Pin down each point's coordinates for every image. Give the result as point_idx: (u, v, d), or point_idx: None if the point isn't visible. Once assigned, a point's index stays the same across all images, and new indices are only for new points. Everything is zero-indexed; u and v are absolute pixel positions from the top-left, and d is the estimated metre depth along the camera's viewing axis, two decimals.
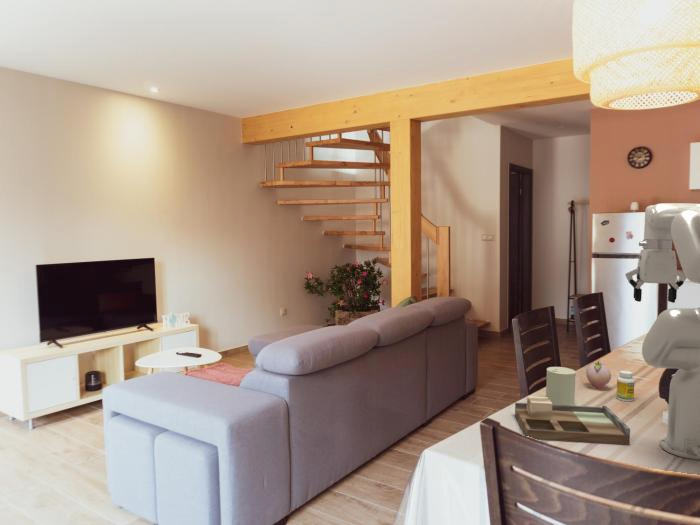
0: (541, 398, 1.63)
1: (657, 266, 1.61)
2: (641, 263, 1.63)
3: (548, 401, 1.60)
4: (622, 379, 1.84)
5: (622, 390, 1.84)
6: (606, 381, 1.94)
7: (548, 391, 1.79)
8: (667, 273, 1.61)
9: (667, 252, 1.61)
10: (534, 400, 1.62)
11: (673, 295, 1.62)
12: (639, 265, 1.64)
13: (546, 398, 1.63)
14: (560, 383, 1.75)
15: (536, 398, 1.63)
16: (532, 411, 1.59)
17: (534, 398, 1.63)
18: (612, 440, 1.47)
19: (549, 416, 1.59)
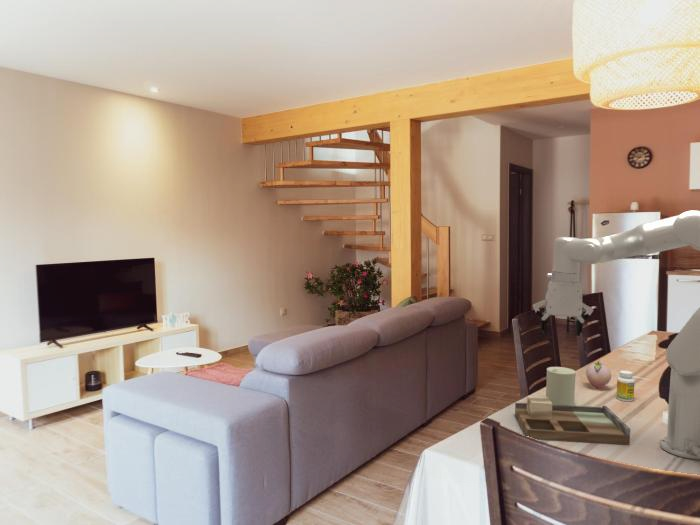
0: (541, 398, 1.63)
1: (562, 299, 1.60)
2: (547, 295, 1.62)
3: (548, 401, 1.60)
4: (622, 379, 1.84)
5: (622, 390, 1.84)
6: (606, 381, 1.94)
7: (548, 391, 1.79)
8: (572, 306, 1.59)
9: (573, 285, 1.59)
10: (534, 400, 1.62)
11: (578, 328, 1.61)
12: (546, 297, 1.63)
13: (546, 398, 1.63)
14: (560, 383, 1.75)
15: (536, 398, 1.63)
16: (532, 411, 1.59)
17: (534, 398, 1.63)
18: (612, 440, 1.47)
19: (549, 416, 1.59)
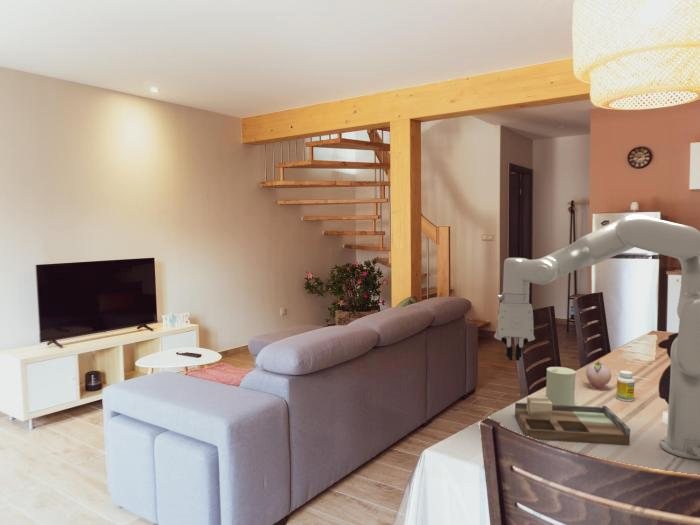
0: (541, 398, 1.63)
1: (513, 320, 1.59)
2: (499, 317, 1.60)
3: (548, 401, 1.60)
4: (622, 379, 1.84)
5: (622, 390, 1.84)
6: (606, 381, 1.94)
7: (548, 391, 1.79)
8: (523, 327, 1.58)
9: (523, 306, 1.58)
10: (534, 400, 1.62)
11: (517, 353, 1.60)
12: (498, 318, 1.62)
13: (546, 398, 1.63)
14: (560, 383, 1.75)
15: (536, 398, 1.63)
16: (532, 411, 1.59)
17: (534, 398, 1.63)
18: (612, 440, 1.47)
19: (549, 416, 1.59)
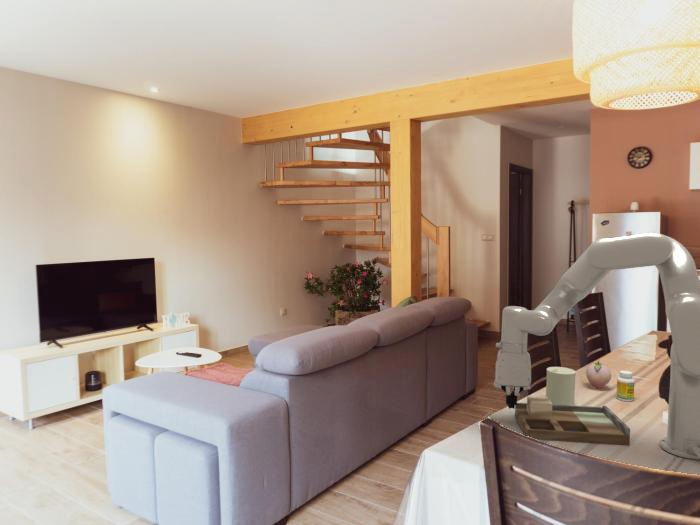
0: (541, 398, 1.63)
1: (511, 369, 1.60)
2: (497, 365, 1.61)
3: (548, 401, 1.60)
4: (622, 379, 1.84)
5: (622, 390, 1.84)
6: (606, 381, 1.94)
7: (548, 391, 1.79)
8: (521, 377, 1.59)
9: (521, 356, 1.59)
10: (534, 400, 1.62)
11: (513, 401, 1.61)
12: (496, 366, 1.63)
13: (546, 398, 1.63)
14: (560, 383, 1.75)
15: (536, 398, 1.63)
16: (532, 411, 1.59)
17: (534, 398, 1.63)
18: (612, 440, 1.47)
19: (549, 416, 1.59)
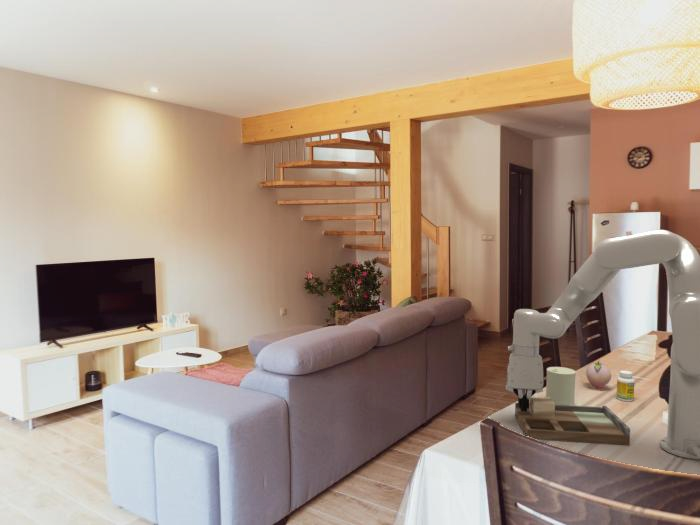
0: (544, 398, 1.63)
1: (523, 372, 1.59)
2: (509, 368, 1.61)
3: (551, 401, 1.60)
4: (622, 379, 1.84)
5: (622, 390, 1.84)
6: (606, 381, 1.94)
7: (548, 391, 1.79)
8: (533, 380, 1.59)
9: (533, 359, 1.59)
10: (536, 400, 1.62)
11: (525, 404, 1.61)
12: (508, 369, 1.62)
13: (549, 398, 1.63)
14: (560, 383, 1.75)
15: (538, 398, 1.63)
16: (535, 411, 1.59)
17: (537, 398, 1.63)
18: (612, 440, 1.47)
19: (552, 416, 1.59)
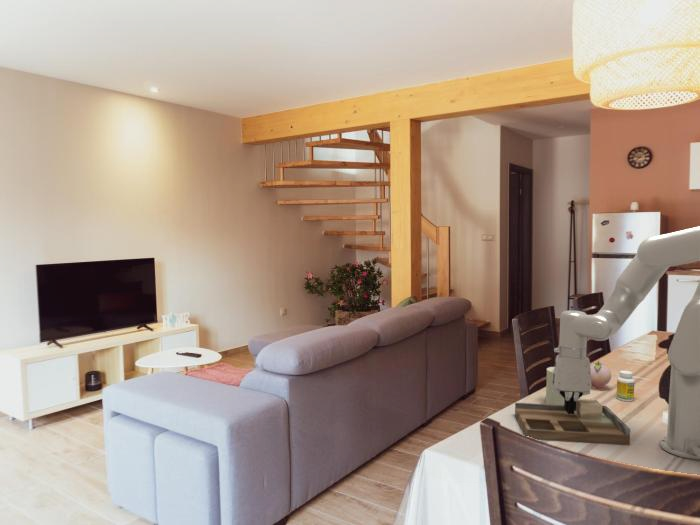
0: (589, 400, 1.62)
1: (571, 375, 1.58)
2: (555, 370, 1.59)
3: (597, 403, 1.59)
4: (622, 379, 1.84)
5: (622, 390, 1.84)
6: (606, 381, 1.94)
7: (548, 391, 1.79)
8: (581, 382, 1.57)
9: (581, 361, 1.57)
10: (582, 401, 1.61)
11: (572, 407, 1.59)
12: (554, 372, 1.61)
13: (594, 400, 1.62)
14: None
15: (584, 400, 1.62)
16: (582, 413, 1.58)
17: (582, 400, 1.62)
18: (612, 440, 1.47)
19: (599, 418, 1.58)
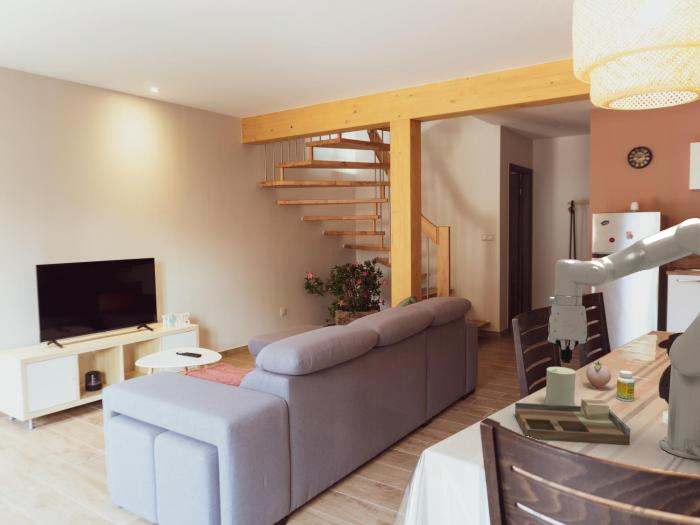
0: (596, 400, 1.62)
1: (566, 323, 1.57)
2: (551, 319, 1.59)
3: (604, 403, 1.59)
4: (622, 379, 1.84)
5: (622, 390, 1.84)
6: (606, 381, 1.94)
7: (548, 391, 1.79)
8: (577, 330, 1.57)
9: (576, 308, 1.56)
10: (589, 402, 1.61)
11: (568, 356, 1.59)
12: (550, 321, 1.60)
13: (601, 400, 1.62)
14: (560, 383, 1.75)
15: (591, 400, 1.62)
16: (588, 413, 1.58)
17: (589, 400, 1.62)
18: (612, 440, 1.47)
19: (606, 418, 1.58)
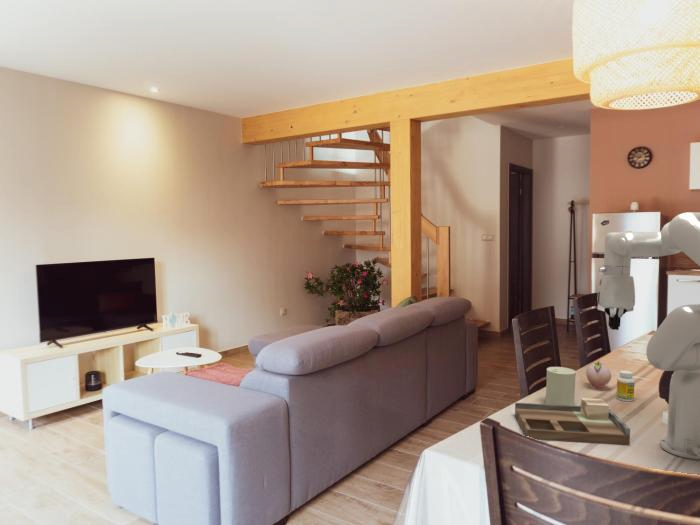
0: (596, 400, 1.62)
1: (616, 291, 1.67)
2: (601, 288, 1.69)
3: (604, 403, 1.59)
4: (622, 379, 1.84)
5: (622, 390, 1.84)
6: (606, 381, 1.94)
7: (548, 391, 1.79)
8: (625, 298, 1.67)
9: (625, 278, 1.66)
10: (589, 402, 1.61)
11: (617, 323, 1.69)
12: (599, 290, 1.70)
13: (601, 400, 1.62)
14: (560, 383, 1.75)
15: (591, 400, 1.62)
16: (588, 413, 1.58)
17: (589, 400, 1.62)
18: (612, 440, 1.47)
19: (606, 418, 1.58)
